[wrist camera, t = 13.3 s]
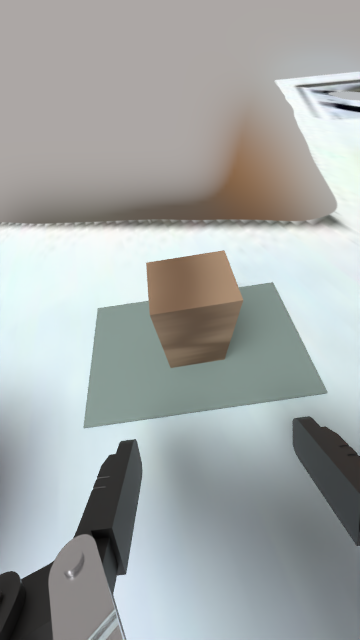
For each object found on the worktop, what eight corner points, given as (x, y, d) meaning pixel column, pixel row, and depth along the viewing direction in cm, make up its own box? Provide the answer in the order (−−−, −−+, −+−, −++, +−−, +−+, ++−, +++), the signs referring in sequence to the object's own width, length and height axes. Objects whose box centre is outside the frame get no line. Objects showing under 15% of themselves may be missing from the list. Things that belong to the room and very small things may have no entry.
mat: (272, 283, 22) (272, 282, 22) (326, 393, 16) (327, 392, 16) (98, 309, 23) (97, 308, 22) (84, 428, 16) (83, 427, 16)
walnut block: (214, 322, 20) (224, 250, 12) (224, 359, 18) (243, 300, 10) (166, 330, 20) (146, 262, 12) (170, 368, 18) (149, 315, 10)
